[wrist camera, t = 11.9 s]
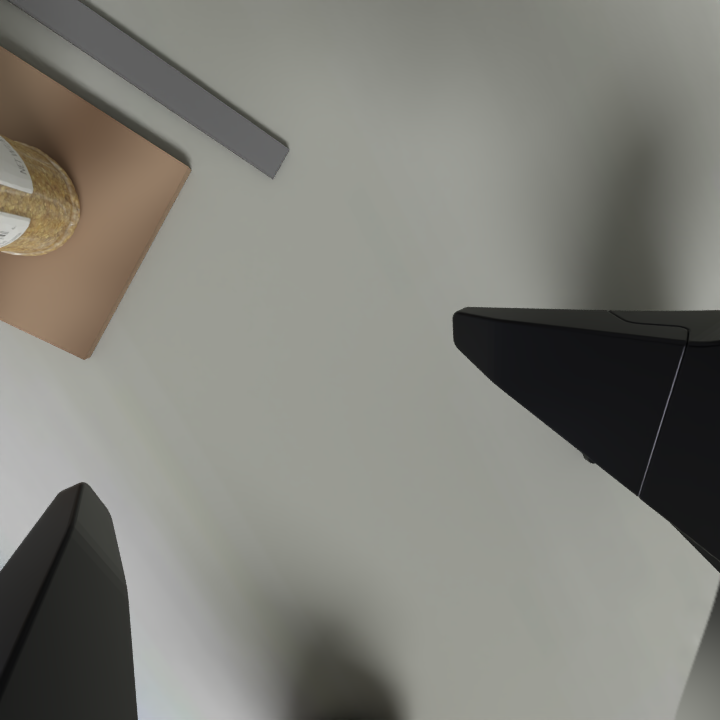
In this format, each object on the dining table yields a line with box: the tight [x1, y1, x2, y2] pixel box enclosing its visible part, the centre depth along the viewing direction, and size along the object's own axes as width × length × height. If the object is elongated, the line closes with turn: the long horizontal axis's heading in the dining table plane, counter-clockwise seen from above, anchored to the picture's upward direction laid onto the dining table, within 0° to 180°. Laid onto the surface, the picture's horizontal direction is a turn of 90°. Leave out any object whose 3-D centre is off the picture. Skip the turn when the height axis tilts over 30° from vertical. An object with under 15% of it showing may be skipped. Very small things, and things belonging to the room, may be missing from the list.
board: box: [0, 46, 191, 360], centre depth 17 cm, size 10×10×1 cm
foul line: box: [8, 0, 289, 179], centre depth 17 cm, size 18×2×1 cm, turn 58°
